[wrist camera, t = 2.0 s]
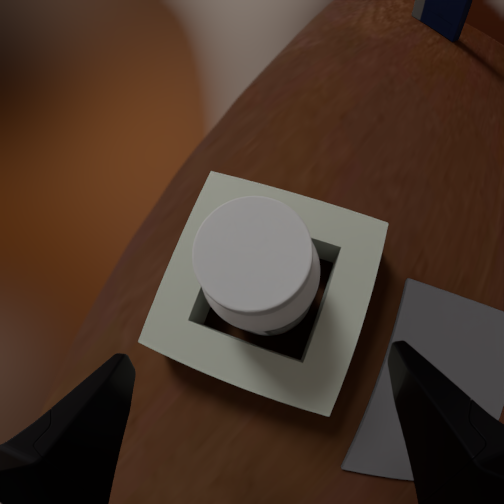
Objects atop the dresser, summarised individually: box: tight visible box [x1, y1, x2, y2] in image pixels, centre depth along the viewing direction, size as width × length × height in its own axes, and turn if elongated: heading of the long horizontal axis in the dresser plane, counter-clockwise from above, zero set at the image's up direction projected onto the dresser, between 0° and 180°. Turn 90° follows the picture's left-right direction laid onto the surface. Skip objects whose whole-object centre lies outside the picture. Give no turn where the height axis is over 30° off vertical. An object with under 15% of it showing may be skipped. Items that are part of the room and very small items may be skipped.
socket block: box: [138, 171, 388, 417], centre depth 19 cm, size 12×12×4 cm
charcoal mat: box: [341, 278, 504, 481], centre depth 17 cm, size 14×12×1 cm
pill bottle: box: [192, 196, 320, 336], centre depth 16 cm, size 6×6×10 cm
